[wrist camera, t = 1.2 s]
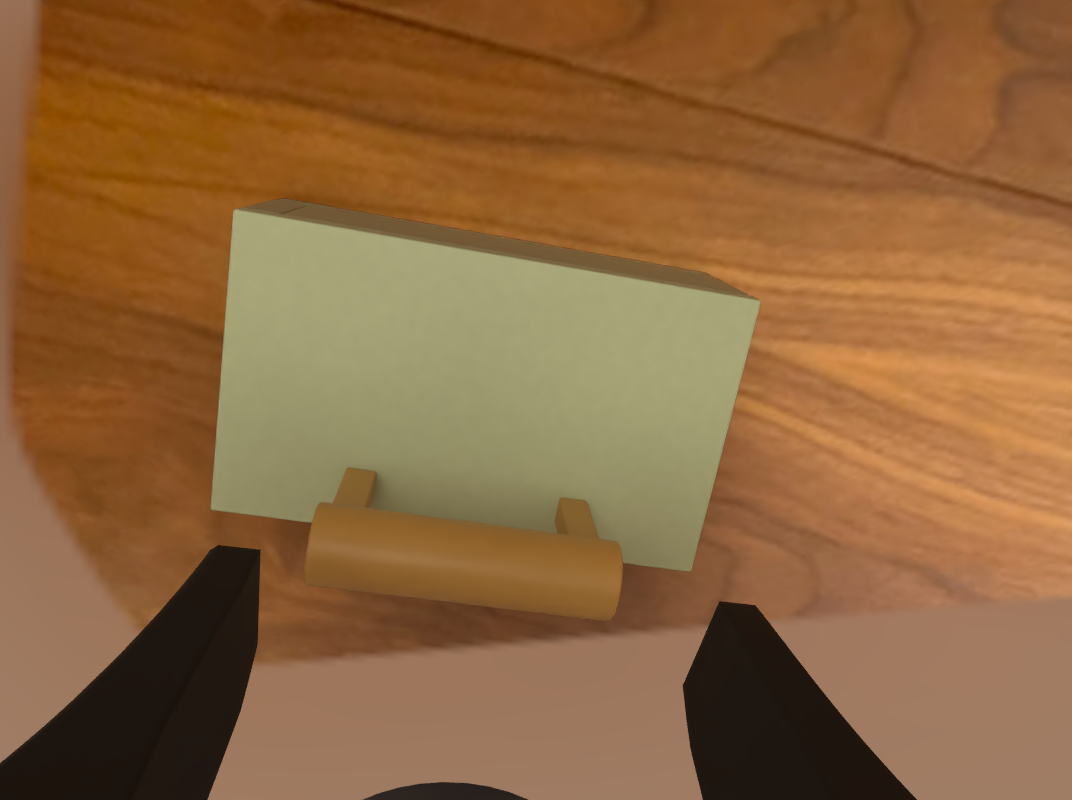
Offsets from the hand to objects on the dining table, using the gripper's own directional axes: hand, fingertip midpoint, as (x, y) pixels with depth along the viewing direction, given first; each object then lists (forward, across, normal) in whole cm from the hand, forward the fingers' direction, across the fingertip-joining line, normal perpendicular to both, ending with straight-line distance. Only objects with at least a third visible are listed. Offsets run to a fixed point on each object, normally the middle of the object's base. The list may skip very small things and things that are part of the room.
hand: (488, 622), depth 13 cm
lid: (+7, 0, 0) cm, 7 cm away
